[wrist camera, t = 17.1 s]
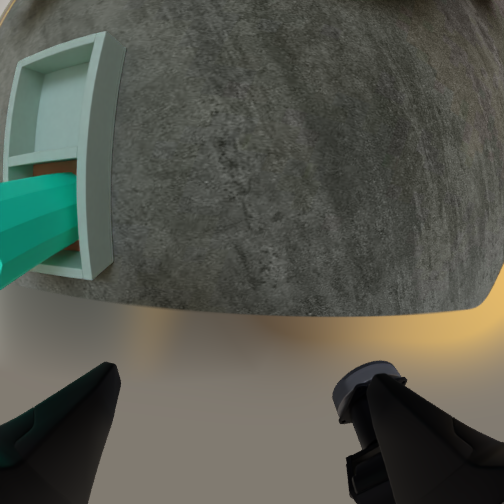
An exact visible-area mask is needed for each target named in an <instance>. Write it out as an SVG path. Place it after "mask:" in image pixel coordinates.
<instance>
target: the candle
mask: <svg viewBox="0 0 504 504" xmlns="http://www.w3.org/2000/svg"><path fill="white" fill-rule="evenodd" d="M77 240H79V234H78V219H77V176H76V175H75V174H73V173H72V172H63V173H53V174H46V175H40V176H34V177H28V178H23V179H17V180H12V181H7V182H2V183H0V290H1V289H3V288H4V287H6V286H7V285H9V284H10V283H11V282H13V281H14V280H16V279H17V278H19V277H20V276H22V275H23V274H25V273H26V272H28V271H29V270H31V269H32V268H34V267H35V266H37V265H38V264H40V263H42V262H43V261H45V260H46V259H48V258H50V257H51V256H53V255H54V254H56V253H58V252H59V251H61V250H63V249H64V248H66V247H68V246H69V245H71V244H73V243H74V242H76V241H77Z"/></svg>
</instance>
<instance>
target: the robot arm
mask: <svg viewBox="0 0 504 504" xmlns="http://www.w3.org/2000/svg"><path fill="white" fill-rule="evenodd" d="M406 382H407V379H406V378H405V377H400V378H395V379H394V378H392V377H391V376H389V375H388V374H386V373H378V374H375V375H374V376H373V378H372V380H371V382H367V383H359V384H357V385H356V386H355V387H354V389H353V391H352V393H351V396H350V398H349V400H348V402H347V404H346V406H345V408H344V410H343V412H342V414H341V416H340V418H339V423H340V424H347V423H353V426H354V428H355V431H356V433H357V436H358V439H359V442H360V444H361V447H362V450H361V451H359V452H357V453H356V454H354V455H350V456H348V457H346V461H347V464H346V467H347V476H348V485H349V492H350V493H349V495H350V497H351V498H353V499H354V500H355V502H356V503H357V504H504V442H500V441H497V440H495V439H493V438H491V437H489V436H487V435H484V434H482V433H480V432H478V431H476V430H474V429H472V428H471V427H469V426H467V425H465V424H464V423H462V422H460V421H458V420H457V419H455V418H454V417H452V416H451V415H449V414H447V413H446V412H444V411H443V410H441V409H439V408H438V407H436V406H435V405H433V404H432V403H430V402H429V401H427V400H425V399H424V398H422V397H421V396H419V395H418V394H416V393H415V392H413V391H412V390H410V389H409V388H407V387H406V386H405V384H406ZM120 387H121V380H120V377H119V373H118V369H117V366H116V365H115V364H113V363H109V362H104V363H102V364H100V365H99V366H97V367H96V368H94V369H92V370H91V371H90V372H88V373H86V374H85V375H83V376H82V377H80V378H79V379H77V380H75V381H74V382H72V383H71V384H69V385H68V386H66V387H65V388H63V389H61V390H60V391H58V392H57V393H55V394H54V395H52V396H50V397H49V398H47V399H46V400H44V401H43V402H41V403H39V404H38V405H36V406H35V407H34V408H31V409H30V410H28V411H27V412H25V413H23V414H21V415H20V416H18V417H17V418H15V419H12V420H10V421H9V422H7V423H4V424H2V425H0V504H88V501H89V497H90V493H91V489H92V486H93V482H94V479H95V475H96V472H97V468H98V465H99V461H100V458H101V455H102V452H103V449H104V446H105V443H106V440H107V436H108V433H109V431H110V428H111V425H112V421H113V417H114V413H115V408H116V404H117V399H118V395H119V391H120Z"/></svg>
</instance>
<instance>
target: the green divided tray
mask: <svg viewBox="0 0 504 504" xmlns="http://www.w3.org/2000/svg"><path fill="white" fill-rule="evenodd" d="M125 53H126V48H125V47H124V46H123V45H122V44H121V43H119V42H118V41H117V40H116V39H115V38H114V37H113V36H112V35H110V34H109V33H108V32H107V31H104V32H100V33H95V34H91V35H88V36H84V37H81V38H78V39H74V40H71V41H68V42H65V43H62V44H59V45H57V46H54V47H51V48H48V49H46V50H43V51H41V52H38V53H36V54H34V55H31V56H29V57H27V58H25V59H23V60H21V61H18V64H17V68H16V72H15V76H14V80H13V85H12V90H11V95H10V100H9V106H8V113H7V120H6V129H5V140H4V156H3V182H7V181H12V180H17V179H23V178H28V177H34V176H40V175H46V174H53V173H63V172H72V173H73V174H75V175H76V176H77V219H78V234H79V240H77V241H76V242H74V243H73V244H71V245H69V246H68V247H66V248H64V249H63V250H61V251H59V252H58V253H56V254H54V255H53V256H51V257H50V258H48V259H46V260H45V261H43V262H42V263H40V264H38V265H37V266H35V267H34V268H32V269H31V270H29V271H32V272H38V273H45V274H51V275H58V276H64V277H71V278H78V279H85V280H93V279H94V278H95V277H96V276H98V275H99V274H100V273H101V272H102V271H103V270H104V269H105V268H107V267H108V266H109V265H110V264H111V263H113V262H114V257H113V243H112V224H111V167H112V148H113V134H114V124H115V114H116V106H117V99H118V92H119V85H120V79H121V74H122V68H123V63H124V58H125Z"/></svg>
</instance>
